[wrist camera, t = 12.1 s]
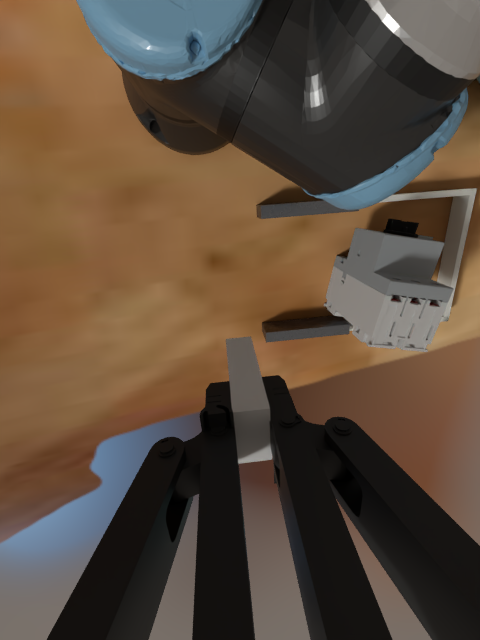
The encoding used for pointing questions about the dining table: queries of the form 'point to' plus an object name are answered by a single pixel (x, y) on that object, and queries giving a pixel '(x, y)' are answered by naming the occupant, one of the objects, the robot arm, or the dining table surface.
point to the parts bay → (448, 234)
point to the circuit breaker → (390, 287)
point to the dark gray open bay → (306, 325)
